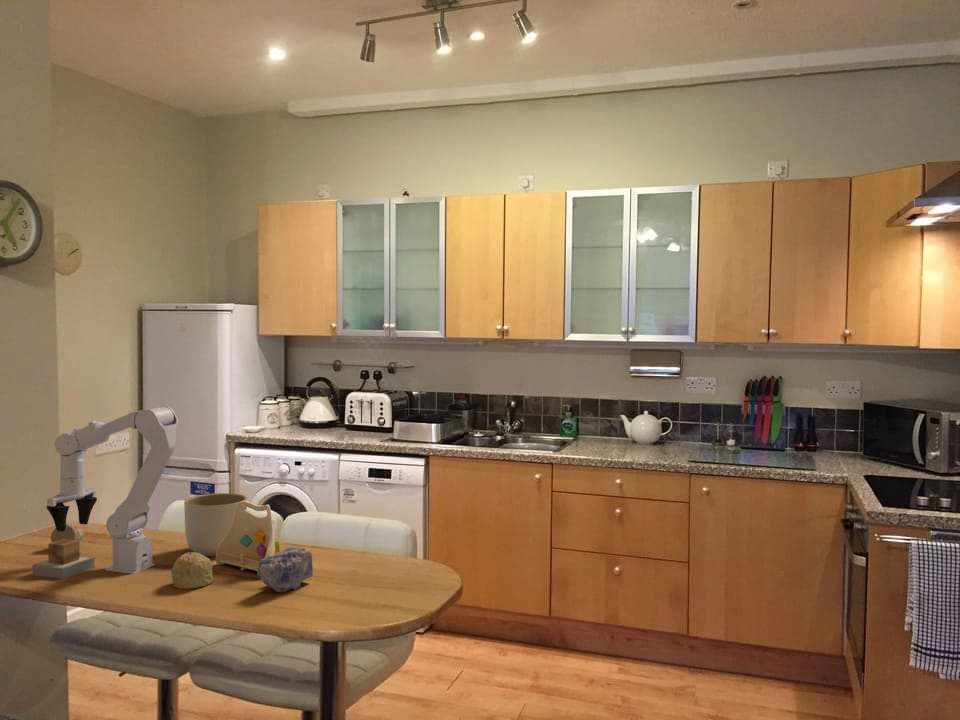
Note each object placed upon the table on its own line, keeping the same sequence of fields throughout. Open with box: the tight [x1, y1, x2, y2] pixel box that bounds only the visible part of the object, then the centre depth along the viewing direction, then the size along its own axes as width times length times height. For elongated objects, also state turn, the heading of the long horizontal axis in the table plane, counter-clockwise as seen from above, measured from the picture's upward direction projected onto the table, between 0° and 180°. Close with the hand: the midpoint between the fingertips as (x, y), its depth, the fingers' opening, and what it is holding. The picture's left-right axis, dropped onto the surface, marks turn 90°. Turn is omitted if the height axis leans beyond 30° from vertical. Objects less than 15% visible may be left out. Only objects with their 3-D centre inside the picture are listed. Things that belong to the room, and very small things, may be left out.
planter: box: [183, 492, 248, 557], centre depth 215 cm, size 17×17×15 cm
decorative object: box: [170, 551, 214, 590], centre depth 185 cm, size 9×10×10 cm
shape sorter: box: [215, 500, 281, 572], centre depth 200 cm, size 20×10×18 cm, turn 58°
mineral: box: [256, 546, 314, 593], centre depth 182 cm, size 14×10×10 cm, turn 157°
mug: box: [50, 523, 85, 543], centre depth 217 cm, size 8×10×10 cm
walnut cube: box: [47, 539, 80, 565], centre depth 195 cm, size 5×5×5 cm
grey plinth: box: [31, 555, 96, 580], centre depth 195 cm, size 10×10×3 cm
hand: (72, 527), depth 201 cm, fingers open, 7 cm apart
